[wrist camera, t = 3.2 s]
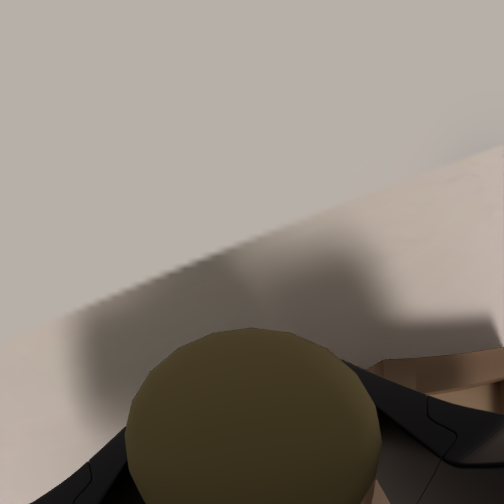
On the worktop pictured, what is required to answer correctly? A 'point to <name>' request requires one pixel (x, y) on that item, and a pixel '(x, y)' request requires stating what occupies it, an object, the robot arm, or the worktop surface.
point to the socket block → (447, 385)
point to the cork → (253, 424)
